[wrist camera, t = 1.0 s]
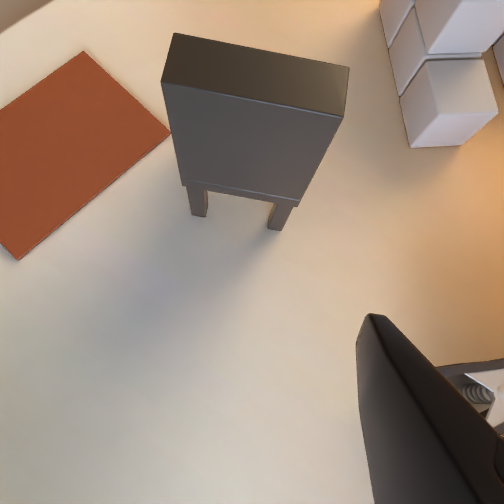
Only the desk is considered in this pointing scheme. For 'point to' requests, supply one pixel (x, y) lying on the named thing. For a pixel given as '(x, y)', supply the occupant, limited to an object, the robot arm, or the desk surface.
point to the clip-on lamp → (480, 387)
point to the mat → (66, 148)
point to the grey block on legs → (249, 120)
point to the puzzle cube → (443, 65)
